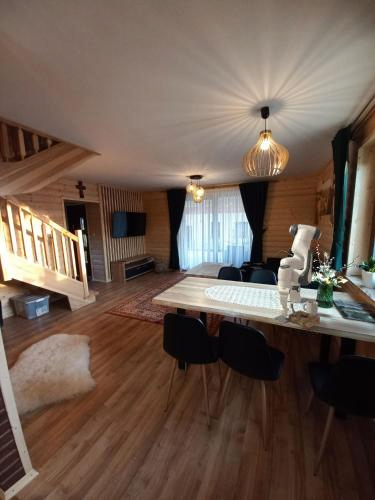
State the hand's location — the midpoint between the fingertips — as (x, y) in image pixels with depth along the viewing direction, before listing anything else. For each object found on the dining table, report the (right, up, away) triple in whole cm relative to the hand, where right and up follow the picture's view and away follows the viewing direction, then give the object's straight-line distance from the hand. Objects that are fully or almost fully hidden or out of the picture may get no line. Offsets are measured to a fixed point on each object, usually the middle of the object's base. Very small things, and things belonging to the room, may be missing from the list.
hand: (283, 307), depth 143 cm
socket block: (+13, -9, -3) cm, 16 cm away
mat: (0, -9, +1) cm, 9 cm away
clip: (+8, -4, +2) cm, 9 cm away
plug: (0, -6, 0) cm, 6 cm away
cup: (+25, -8, +10) cm, 28 cm away
